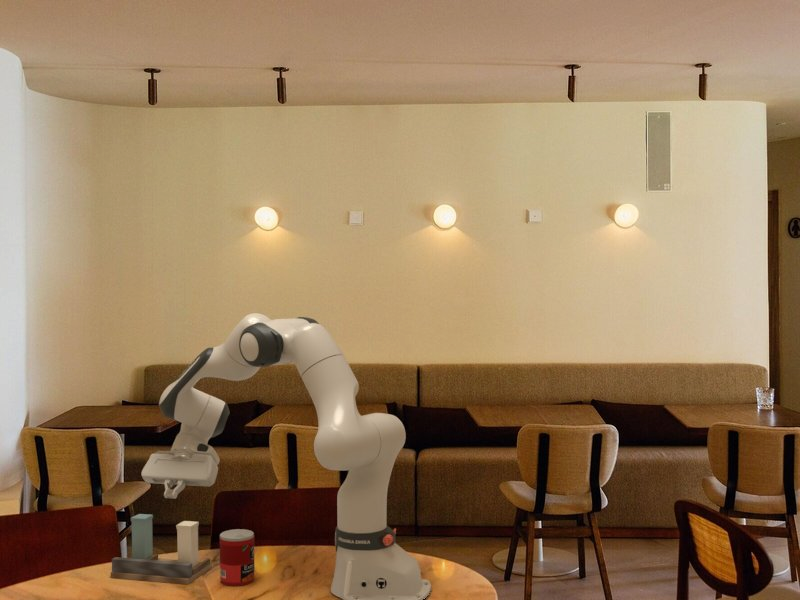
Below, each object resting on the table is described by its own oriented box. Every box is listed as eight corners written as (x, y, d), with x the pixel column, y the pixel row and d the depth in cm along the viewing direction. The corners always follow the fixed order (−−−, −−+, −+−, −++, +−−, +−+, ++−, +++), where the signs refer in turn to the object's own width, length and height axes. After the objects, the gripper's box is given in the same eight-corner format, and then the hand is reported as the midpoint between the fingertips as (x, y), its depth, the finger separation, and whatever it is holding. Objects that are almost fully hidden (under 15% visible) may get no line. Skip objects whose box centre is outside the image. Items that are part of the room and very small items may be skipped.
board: (211, 567, 207) (211, 550, 207) (187, 584, 195) (187, 566, 195) (138, 561, 212) (138, 544, 212) (110, 577, 200) (110, 560, 200)
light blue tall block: (153, 558, 209) (153, 514, 209) (145, 563, 206) (144, 518, 206) (139, 557, 210) (139, 513, 210) (131, 562, 207) (130, 517, 206)
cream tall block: (199, 566, 203) (198, 521, 203) (191, 572, 199) (191, 526, 199) (184, 565, 204) (184, 520, 204) (176, 570, 200) (176, 525, 200)
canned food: (247, 587, 193) (246, 539, 193) (214, 585, 195) (213, 537, 194) (259, 576, 201) (259, 529, 200) (227, 574, 202) (227, 528, 202)
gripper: (148, 444, 230) (129, 488, 221) (217, 447, 225) (200, 492, 216) (157, 457, 235) (138, 501, 225) (225, 460, 230) (209, 505, 220)
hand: (169, 497), depth 221 cm, fingers closed
